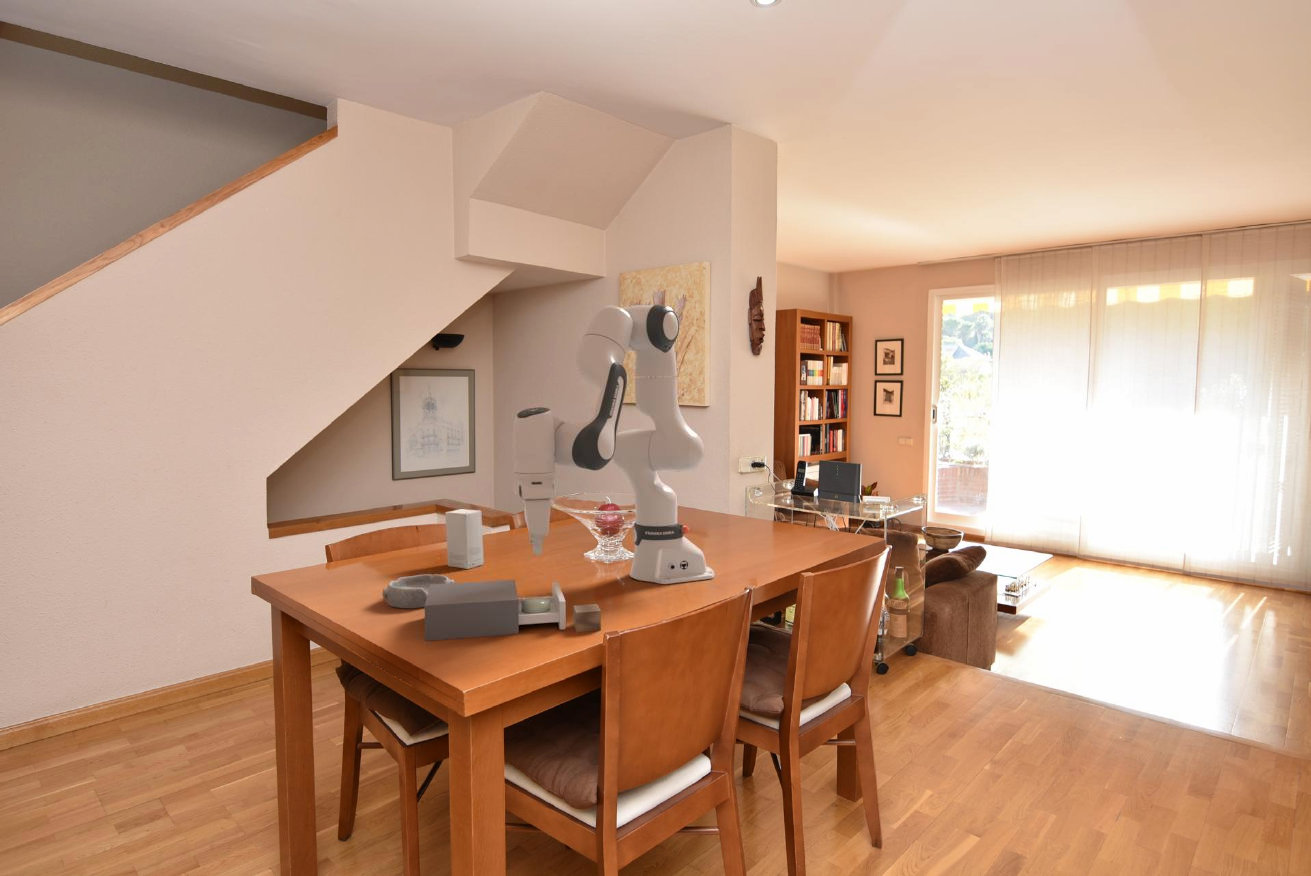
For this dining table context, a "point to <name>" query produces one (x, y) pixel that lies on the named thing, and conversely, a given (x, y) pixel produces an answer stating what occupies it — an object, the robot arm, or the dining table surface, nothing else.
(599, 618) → the walnut block
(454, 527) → the skincare box
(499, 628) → the grey drawer cabinet
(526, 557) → the dining table surface
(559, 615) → the white drawer
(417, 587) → the dish
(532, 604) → the pale green disc
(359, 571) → the dining table surface
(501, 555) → the dining table surface
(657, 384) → the robot arm
